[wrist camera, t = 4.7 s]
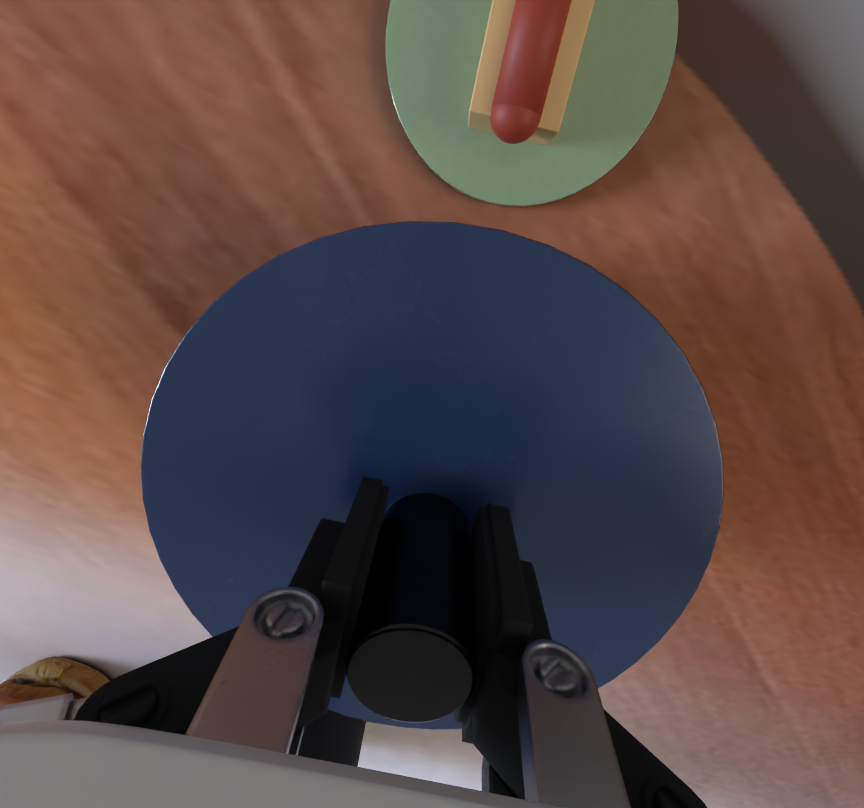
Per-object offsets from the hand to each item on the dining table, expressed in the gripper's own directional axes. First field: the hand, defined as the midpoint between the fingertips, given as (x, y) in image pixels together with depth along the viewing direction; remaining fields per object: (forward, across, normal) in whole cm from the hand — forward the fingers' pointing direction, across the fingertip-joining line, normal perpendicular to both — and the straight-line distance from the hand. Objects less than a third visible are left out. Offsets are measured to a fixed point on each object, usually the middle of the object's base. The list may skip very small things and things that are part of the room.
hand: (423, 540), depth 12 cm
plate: (+13, 0, -16) cm, 20 cm away
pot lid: (+1, 0, 0) cm, 1 cm away
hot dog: (+13, 0, -16) cm, 20 cm away
